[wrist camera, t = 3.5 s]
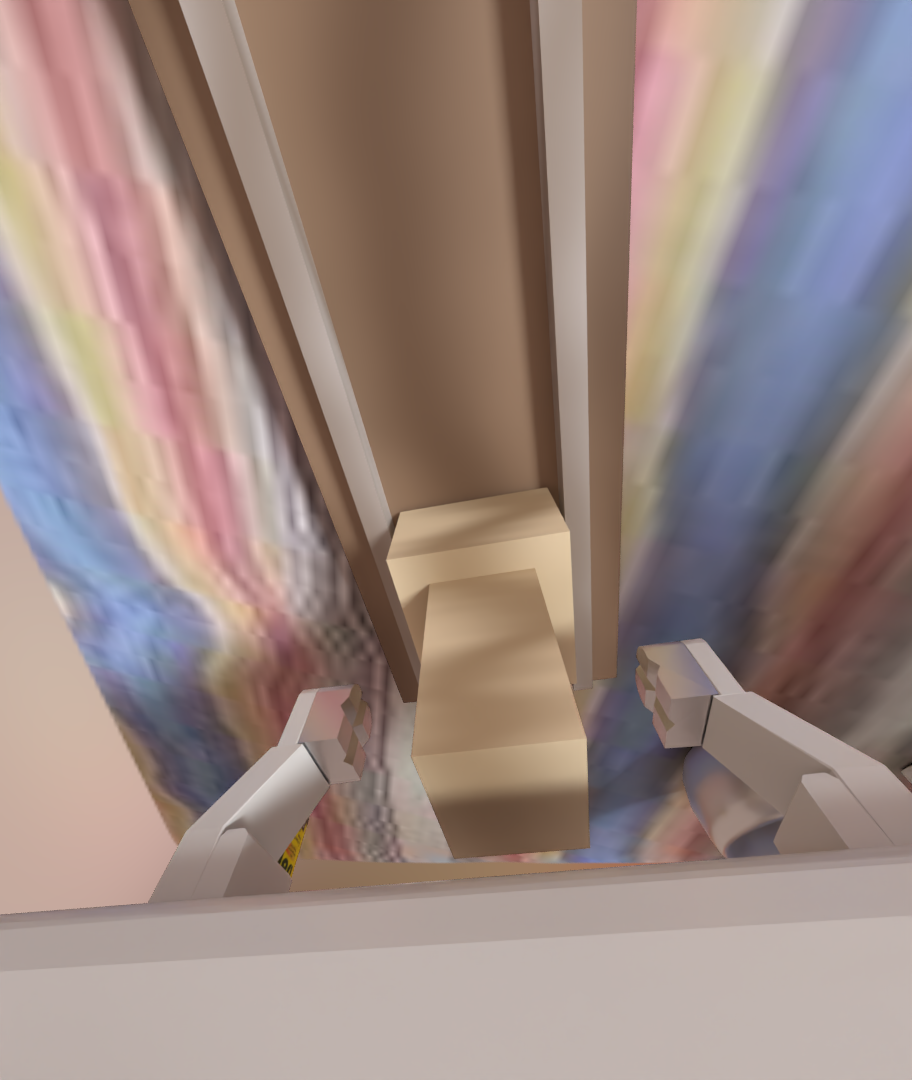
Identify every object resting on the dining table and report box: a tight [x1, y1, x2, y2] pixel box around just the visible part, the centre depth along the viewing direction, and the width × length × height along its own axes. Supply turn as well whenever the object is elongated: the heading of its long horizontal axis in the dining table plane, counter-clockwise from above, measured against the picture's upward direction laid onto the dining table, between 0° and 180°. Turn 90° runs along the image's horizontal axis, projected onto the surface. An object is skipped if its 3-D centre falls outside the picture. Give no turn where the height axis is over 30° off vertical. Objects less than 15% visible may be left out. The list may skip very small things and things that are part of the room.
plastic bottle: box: [683, 746, 784, 859], centre depth 14 cm, size 6×7×20 cm
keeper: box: [386, 487, 590, 859], centre depth 11 cm, size 5×6×8 cm
